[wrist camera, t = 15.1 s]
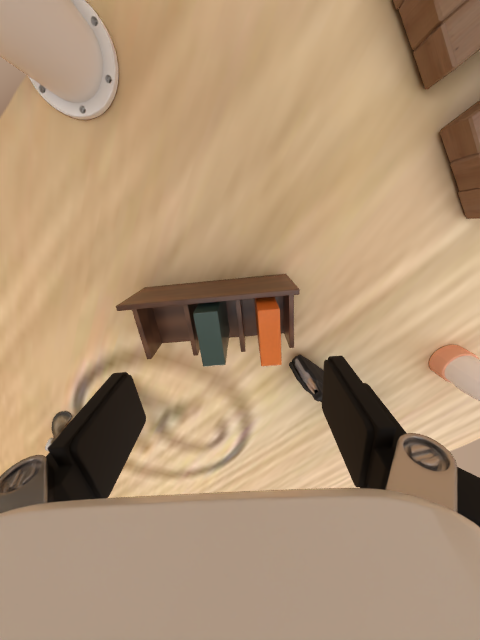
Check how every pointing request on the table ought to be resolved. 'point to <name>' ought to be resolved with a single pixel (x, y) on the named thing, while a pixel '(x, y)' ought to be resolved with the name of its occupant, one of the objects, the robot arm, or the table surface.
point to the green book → (212, 332)
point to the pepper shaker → (458, 368)
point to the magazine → (308, 376)
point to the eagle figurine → (58, 426)
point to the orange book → (268, 330)
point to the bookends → (438, 61)
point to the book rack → (182, 299)
